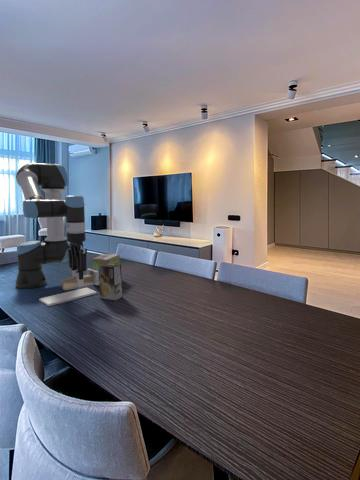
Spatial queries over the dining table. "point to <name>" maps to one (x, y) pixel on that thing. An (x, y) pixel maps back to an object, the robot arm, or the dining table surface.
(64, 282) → the scraper
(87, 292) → the cutting board
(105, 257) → the tea box
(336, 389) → the dining table surface
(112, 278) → the coffee box
